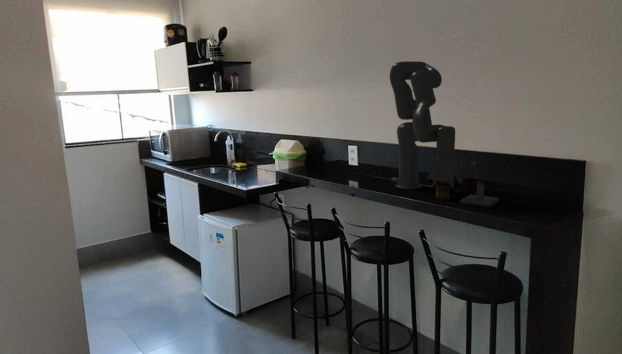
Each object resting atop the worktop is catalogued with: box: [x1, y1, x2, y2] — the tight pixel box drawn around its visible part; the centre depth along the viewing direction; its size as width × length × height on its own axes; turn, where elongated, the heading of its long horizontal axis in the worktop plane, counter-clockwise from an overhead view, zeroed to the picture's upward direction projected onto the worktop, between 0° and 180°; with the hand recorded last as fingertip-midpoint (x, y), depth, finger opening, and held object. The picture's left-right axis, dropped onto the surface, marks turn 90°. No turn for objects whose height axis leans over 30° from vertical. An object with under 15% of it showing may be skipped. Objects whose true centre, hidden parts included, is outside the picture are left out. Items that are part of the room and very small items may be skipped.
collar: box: [434, 182, 453, 201], centre depth 192 cm, size 7×7×6 cm
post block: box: [459, 181, 500, 208], centre depth 183 cm, size 12×12×8 cm
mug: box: [458, 178, 481, 197], centre depth 197 cm, size 7×10×7 cm
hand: (443, 195), depth 192 cm, fingers closed on collar, 6 cm apart
